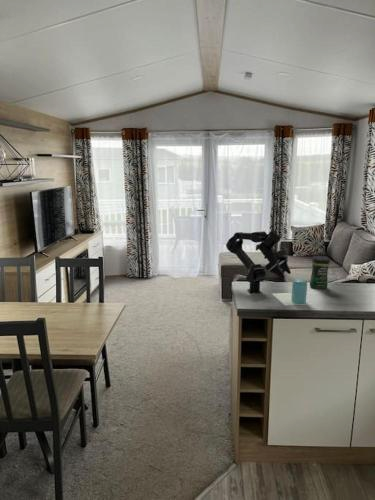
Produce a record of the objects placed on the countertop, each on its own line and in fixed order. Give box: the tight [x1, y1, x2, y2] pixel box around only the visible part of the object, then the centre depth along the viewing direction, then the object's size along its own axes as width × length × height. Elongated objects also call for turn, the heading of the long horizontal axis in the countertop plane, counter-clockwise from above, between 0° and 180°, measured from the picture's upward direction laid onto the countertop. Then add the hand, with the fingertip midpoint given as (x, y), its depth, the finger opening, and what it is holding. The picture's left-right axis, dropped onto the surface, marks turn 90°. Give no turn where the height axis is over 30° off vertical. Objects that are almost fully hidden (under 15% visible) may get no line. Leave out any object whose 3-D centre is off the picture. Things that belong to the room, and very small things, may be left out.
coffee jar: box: [309, 255, 330, 290], centre depth 219 cm, size 10×8×19 cm
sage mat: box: [272, 292, 312, 306], centre depth 199 cm, size 19×14×1 cm
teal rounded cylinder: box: [291, 279, 308, 304], centre depth 193 cm, size 7×7×11 cm
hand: (287, 275), depth 196 cm, fingers open, 9 cm apart
